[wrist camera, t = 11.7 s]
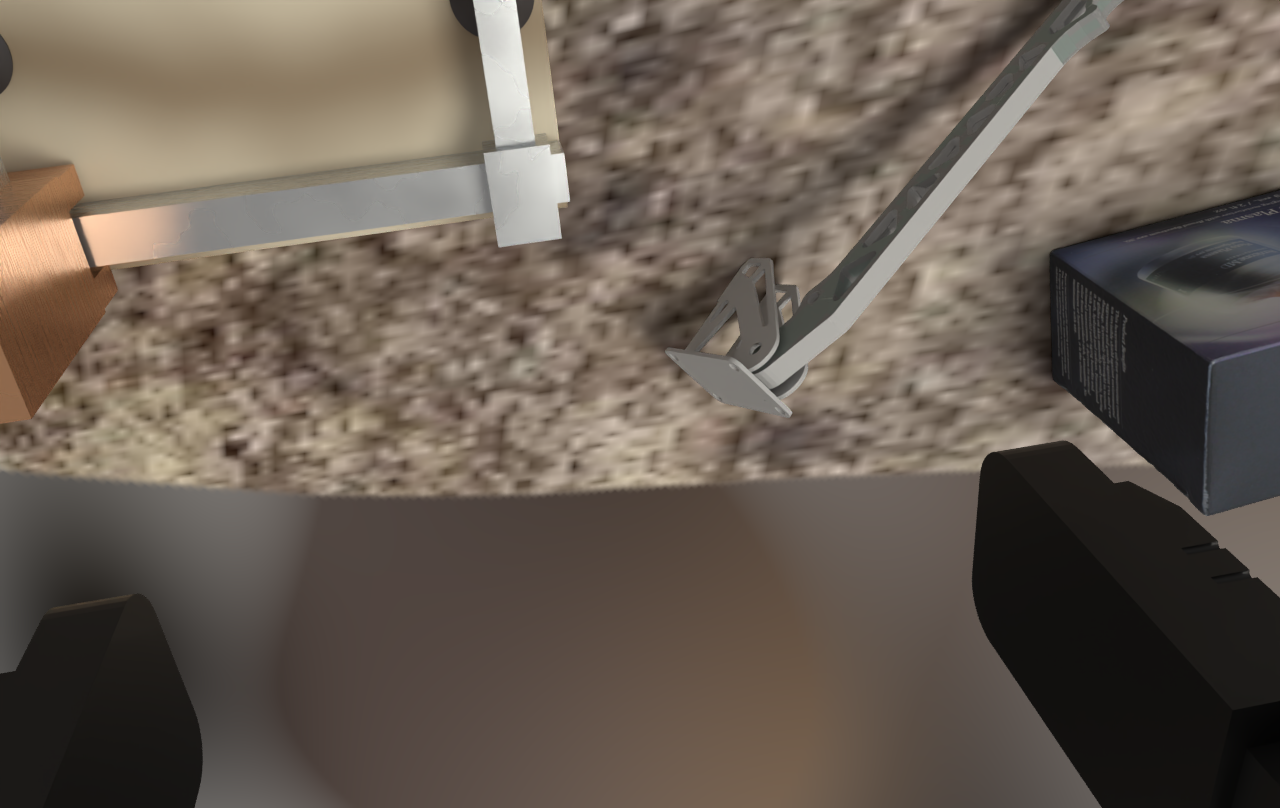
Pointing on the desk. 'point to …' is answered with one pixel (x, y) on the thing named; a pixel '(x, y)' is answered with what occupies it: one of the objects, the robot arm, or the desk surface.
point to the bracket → (875, 236)
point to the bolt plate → (248, 91)
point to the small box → (1181, 345)
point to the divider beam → (361, 184)
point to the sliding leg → (43, 286)
